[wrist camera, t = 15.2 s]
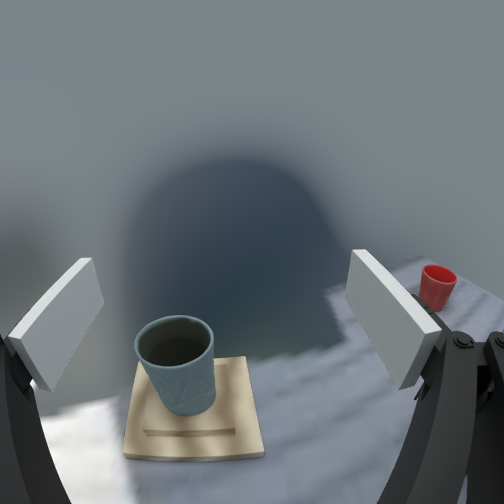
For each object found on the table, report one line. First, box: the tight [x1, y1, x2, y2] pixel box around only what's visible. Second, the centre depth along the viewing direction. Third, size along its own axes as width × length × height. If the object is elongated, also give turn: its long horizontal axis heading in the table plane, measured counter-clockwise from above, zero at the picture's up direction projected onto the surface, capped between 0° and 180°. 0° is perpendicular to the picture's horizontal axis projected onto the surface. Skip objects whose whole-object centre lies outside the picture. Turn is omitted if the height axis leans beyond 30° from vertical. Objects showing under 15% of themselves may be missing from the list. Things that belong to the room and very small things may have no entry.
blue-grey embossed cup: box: [135, 315, 216, 416], centre depth 34 cm, size 10×10×12 cm
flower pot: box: [419, 265, 457, 312], centre depth 61 cm, size 11×11×10 cm
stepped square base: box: [122, 356, 264, 462], centre depth 37 cm, size 20×20×4 cm
